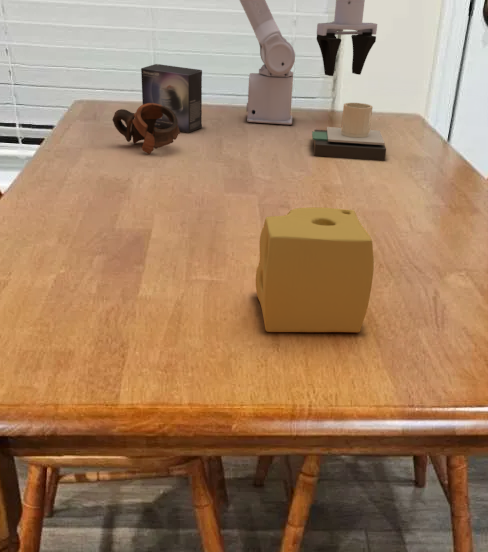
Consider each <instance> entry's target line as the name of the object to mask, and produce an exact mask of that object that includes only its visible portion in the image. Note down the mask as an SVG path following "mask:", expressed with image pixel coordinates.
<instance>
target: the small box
mask: <svg viewBox="0 0 488 552" xmlns="http://www.w3.org/2000/svg"><path fill="white" fill-rule="evenodd" d="M140 71H141V73H140V74H141V75H140V76H141V97H142V99H141V100H142V105H143V104H147V103H156V104H160V105H162V106H165V107H167V108H169V109H170V110H172V111H173V112H174V114H175V115H176V117H177V119H178V128H179V131H180V133H181V132H182V133H186V134H187V133H188V134H189V133H192V132H194V131H197V130H199V129H201V128H203V123H202V119H203V117H202V113H203V112H202V111H203V109H202V105H203V104H202V103H203V100H202V99H203V98H202V97H203V90H202V87H203V86H202V85H203V82H202V81H203V70H202V69H198V68H190V67H182V66H175V65H167V64H160V63H155V64H151V65H148V66H144V67H141V68H140ZM172 125H173V122H171V121H169V118H168V117H167V116H166V115H165V114H163V116H162V117H161V118H158V119H157V120H156V123H155V127H156V128H157V129H167V128H170V127H171V126H172Z"/></svg>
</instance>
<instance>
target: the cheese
mask: <svg viewBox="0 0 488 552" xmlns="http://www.w3.org/2000/svg"><path fill="white" fill-rule="evenodd" d="M371 237H372V236H371V235H370V234H369V232H368V231H367V230H366V228H365V227H364V226H363V225H362V223H361V221H360V219H359V217H358V215H357V212H356V210H354V209H344V208H334V207H333V208H332V207H323V206H322V207H319V206H316V207H298V208H297V207H296V208H293V209H290V211H288V212H287V213H286V214H284V215H270V216H266V217H265V219H264V224H263V227H262V229H261V232H260V235H259V262H258V265H257V267H256V271H255V290H256V296H257V299H258V301H259V304H260V307H261V313H262V318H263V323H264V330H265V331H266V332H267V333H360V331H361V329H362V326H363V324H364V320H365V318H366V315H367V311H368V307H369V304H370V298H371V291H372V285H373V279H374V270H375V269H374V267H375V259H374V257H375V256H374V247H373V246H374V243H373V240H372V238H371Z"/></svg>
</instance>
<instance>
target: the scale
mask: <svg viewBox="0 0 488 552" xmlns="http://www.w3.org/2000/svg"><path fill="white" fill-rule="evenodd" d="M311 137H312V138H311V139H312V141H313V156H314V157H324V158H325V157H327V158H341V159H353V160H354V159H356V160H372V161H386V153H387V147H386V145H385V140H384V138H383V135H382V132H381V130H378V129H377V130H376V129H370V132H369V136H368V137H364V138H355V137H348V136H344V135H342V134H341V127H335V126H326V129H314V130H313V131H311Z"/></svg>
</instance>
